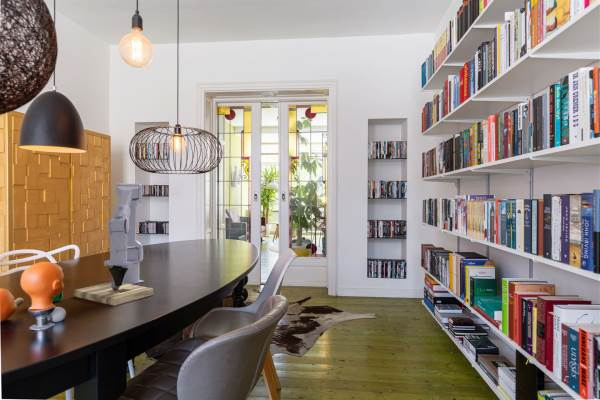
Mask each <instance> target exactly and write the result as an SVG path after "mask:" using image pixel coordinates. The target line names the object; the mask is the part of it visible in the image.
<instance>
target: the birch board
mask: <svg viewBox="0 0 600 400" xmlns="http://www.w3.org/2000/svg"><path fill="white" fill-rule="evenodd" d="M113 282H114V281H110V282H105V283H99V284H96V285H91V286H86V287H81V288H77V289H74V297H76V298H80V299H82V300H83V299H84V300H88V301H92V302H97V303H102V304H105V305H110V306H118V305H122V304H125V303H130V302H132V301H136V300H140V299H143V298H146V297H151V296H153V295H154V287H148V286H147V287H146V286H141V285H136V284H126V283H122V286H120V288H119V289H117V290H113V289H112V288H111V284H112V283H113Z"/></svg>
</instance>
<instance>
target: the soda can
mask: <svg viewBox="0 0 600 400" xmlns="http://www.w3.org/2000/svg"><path fill="white" fill-rule="evenodd" d="M59 267H60V268H61V269H62V272H63V273H64V269H63V268H62V267H61V266H59ZM63 292H64V290H63V291H62V292H61V293H60V294H59V295H57V296H56V297H54V299H53V302H54V303H59V302H62V300H63V299H64V293H63Z"/></svg>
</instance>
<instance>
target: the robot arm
mask: <svg viewBox="0 0 600 400" xmlns="http://www.w3.org/2000/svg"><path fill="white" fill-rule="evenodd" d="M115 195H116V197H117V198H118V201H119V203H118V205H117V206H115V208H114V212H113V213H112V214H113V215H112V218H111V219H109V220H108V224H107V225H108V228H107V230H108V236H109V240H110V241H109V245H110V246H109V251H110V252H109V258H110V259H108V260H104V263H103V264H104V266H105V267H107V266H109V267H110V268H109V269H108V271H109V272H110V274H111V276H112V279H113V282H114V283H115V286H116V287H118V286H122V283H126V284H132V285H136V284H139V283H143V282H145V280H141V279H140V262H142V261H143V260H144V246H143V244H142V242H140V241H138V240H137V214H138V212H137V210H138V205H139V203H142V202H143V185H142V183H127V182H126V183H123V182H122V183H121V182H118V183H117V184H116V186H115Z"/></svg>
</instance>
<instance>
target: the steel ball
mask: <svg viewBox="0 0 600 400" xmlns="http://www.w3.org/2000/svg"><path fill="white" fill-rule="evenodd" d="M112 282H113V283H112V284H111V288H112V289H113V290H117V289H119V288H120V286H118V287H116V286H115V283H114V281H112Z"/></svg>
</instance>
